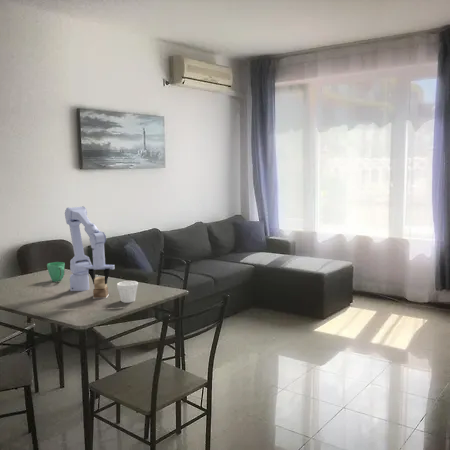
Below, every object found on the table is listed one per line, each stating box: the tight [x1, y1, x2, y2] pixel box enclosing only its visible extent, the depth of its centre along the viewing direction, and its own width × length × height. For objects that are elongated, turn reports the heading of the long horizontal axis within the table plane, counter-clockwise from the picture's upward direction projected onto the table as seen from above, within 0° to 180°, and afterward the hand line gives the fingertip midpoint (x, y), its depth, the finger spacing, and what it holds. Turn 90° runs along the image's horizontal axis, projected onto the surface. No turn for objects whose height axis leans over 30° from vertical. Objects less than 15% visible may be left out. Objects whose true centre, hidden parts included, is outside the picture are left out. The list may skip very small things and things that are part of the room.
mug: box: [46, 261, 66, 283], centre depth 291 cm, size 15×10×10 cm
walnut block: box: [92, 286, 109, 299], centre depth 254 cm, size 6×6×4 cm
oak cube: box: [93, 276, 108, 289], centre depth 254 cm, size 5×5×5 cm
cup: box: [116, 280, 139, 304], centre depth 244 cm, size 10×10×9 cm
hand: (100, 283), depth 253 cm, fingers closed on oak cube, 5 cm apart
